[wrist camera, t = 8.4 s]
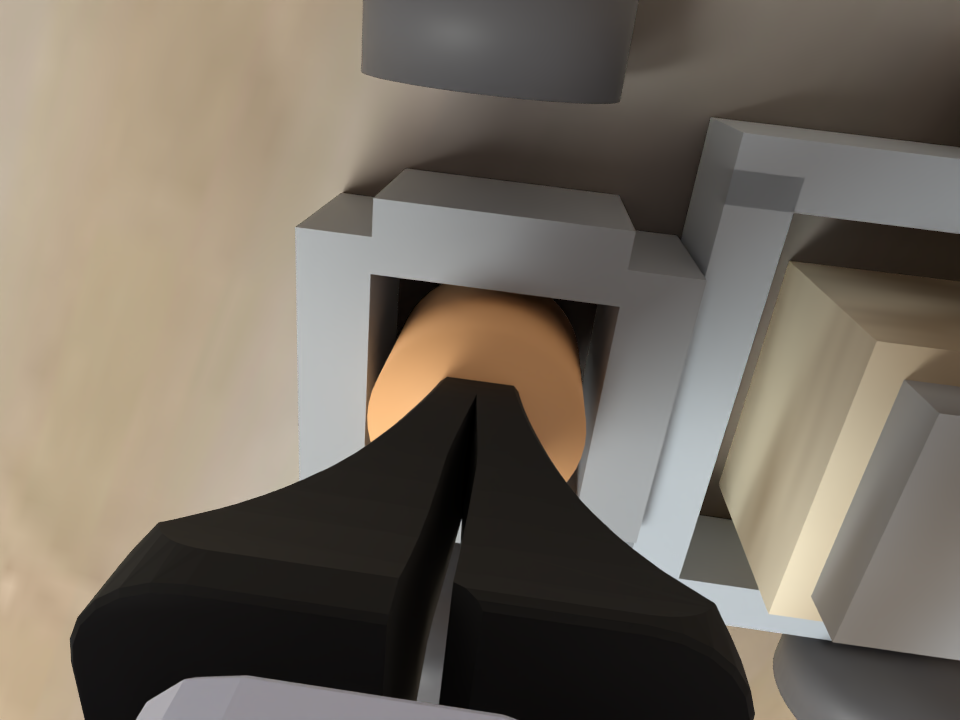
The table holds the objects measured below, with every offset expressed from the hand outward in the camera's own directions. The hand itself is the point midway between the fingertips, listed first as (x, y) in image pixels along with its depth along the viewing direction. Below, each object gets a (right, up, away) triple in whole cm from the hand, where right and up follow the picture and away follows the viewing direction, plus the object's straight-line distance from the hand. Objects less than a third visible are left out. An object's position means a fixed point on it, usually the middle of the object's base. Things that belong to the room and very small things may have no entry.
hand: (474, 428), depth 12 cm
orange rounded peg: (0, +2, +3) cm, 4 cm away
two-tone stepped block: (+9, +1, +4) cm, 9 cm away
